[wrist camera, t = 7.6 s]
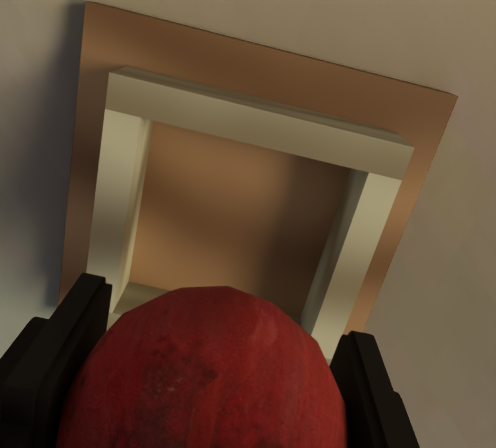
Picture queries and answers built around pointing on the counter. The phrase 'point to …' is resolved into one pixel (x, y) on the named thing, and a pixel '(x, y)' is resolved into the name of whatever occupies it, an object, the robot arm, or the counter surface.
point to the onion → (204, 379)
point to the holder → (240, 171)
